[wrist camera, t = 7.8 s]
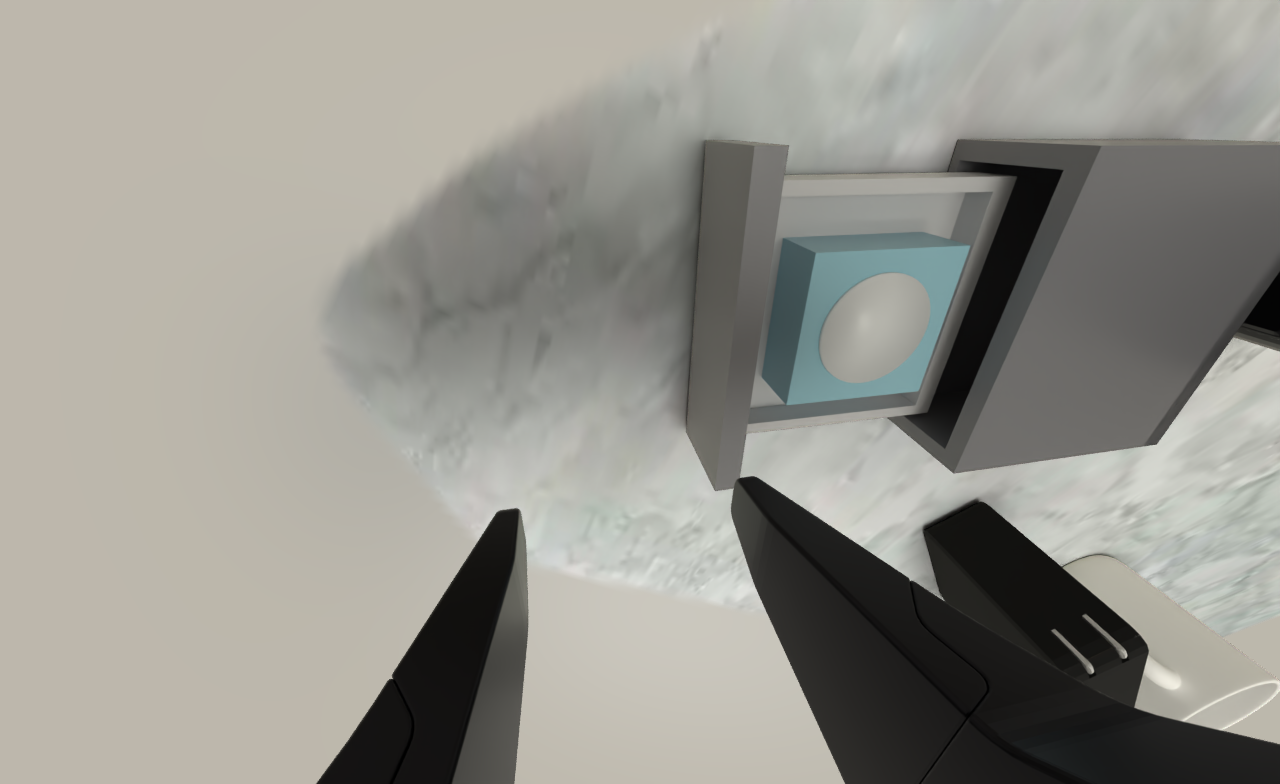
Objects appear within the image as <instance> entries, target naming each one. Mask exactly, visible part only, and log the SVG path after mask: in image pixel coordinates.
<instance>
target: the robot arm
mask: <svg viewBox="0 0 1280 784" xmlns="http://www.w3.org/2000/svg"><path fill="white" fill-rule="evenodd" d="M1233 337H1235V338H1238V339H1241V340H1244V341H1248V342H1251V343H1254V344H1257V345H1260V346H1264V347H1267V348H1270V349H1273V350H1277V351H1280V272H1279V273H1278V274H1277V276H1276V277H1275V279H1274V280H1273V282H1272V283H1271V284H1270V286H1269V287H1268V289H1267V290H1266V291H1265V293H1264V294H1263V296H1262V297H1261V298H1260V300H1259V301H1258V303H1257V304H1256V305H1255V307H1254V308H1253V310H1252V311H1251V312H1250V314H1249V315H1248V317H1247V318H1246V320H1245V321H1244V322H1243V324H1242V325H1241V327H1240V328H1239V329H1238V331H1237V332H1236V334H1235V335H1234V336H1233ZM731 514H732V519H733V522H734V525H735V528H736V531H737V534H738V537H739V540H740V543H741V546H742V549H743V552H744V555H745V558H746V561H747V564H748V567H749V570H750V573H751V576H752V579H753V582H754V585H755V587H756V589H757V592H758V594H759V596H760V599H761V601H762V603H763V605H764V607H765V610H766V612H767V614H768V616H769V618H770V620H771V623H772V625H773V627H774V629H775V631H776V634H777V636H778V638H779V640H780V642H781V644H782V646H783V649H784V651H785V653H786V655H787V658H788V660H789V662H790V664H791V666H792V669H793V671H794V673H795V675H796V677H797V679H798V682H799V684H800V686H801V688H802V690H803V693H804V695H805V697H806V699H807V701H808V704H809V706H810V708H811V710H812V712H813V714H814V717H815V719H816V721H817V723H818V725H819V728H820V730H821V732H822V734H823V736H824V739H825V741H826V743H827V745H828V747H829V749H830V751H831V754H832V756H833V758H834V760H835V763H836V765H837V767H838V769H839V771H840V773H841V776H842V778H843V780H844V782H845V784H1280V744H1277V743H1273V742H1268V741H1264V740H1260V739H1255V738H1251V737H1247V736H1243V735H1238V734H1234V733H1230V732H1226V731H1222V730H1217V729H1213V728H1209V727H1205V726H1201V725H1196V724H1192V723H1188V722H1184V721H1179V720H1175V719H1171V718H1167V717H1163V716H1159V715H1155V714H1152V713H1149V712H1146V711H1143V710H1140V709H1137V708H1134V707H1132V706H1129V705H1127V704H1124V703H1122V702H1119V701H1117V700H1115V699H1113V698H1111V697H1109V696H1107V695H1104V694H1102V693H1101V692H1099V691H1097V690H1095V689H1093V688H1091V687H1089V686H1088V685H1086V684H1084V683H1082V682H1081V681H1079V680H1077V679H1075V678H1074V677H1072V676H1070V675H1068V674H1067V673H1065V672H1063V671H1061V670H1060V669H1058V668H1056V667H1054V666H1053V665H1051V664H1049V663H1047V662H1046V661H1044V660H1042V659H1040V658H1039V657H1037V656H1035V655H1034V654H1032V653H1030V652H1028V651H1027V650H1025V649H1023V648H1021V647H1020V646H1018V645H1016V644H1014V643H1013V642H1011V641H1009V640H1007V639H1006V638H1004V637H1002V636H1000V635H999V634H997V633H995V632H994V631H992V630H990V629H989V628H987V627H985V626H984V625H982V624H980V623H979V622H977V621H975V620H973V619H972V618H970V617H968V616H967V615H965V614H963V613H962V612H960V611H959V610H957V609H956V608H954V607H952V606H951V605H949V604H948V603H946V602H945V601H943V600H942V599H940V598H938V597H937V596H935V595H934V594H932V593H931V592H929V591H928V590H926V589H925V588H923V587H922V586H920V585H919V584H917V583H916V582H914V581H910V580H909V578H908V577H906V576H905V575H903V574H902V573H900V572H899V571H897V570H896V569H894V568H893V567H891V566H890V565H888V564H887V563H885V562H884V561H882V560H881V559H879V558H878V557H876V556H875V555H873V554H872V553H870V552H869V551H867V550H866V549H864V548H863V547H861V546H860V545H858V544H857V543H855V542H854V541H852V540H851V539H849V538H848V537H846V536H845V535H843V534H842V533H840V532H839V531H837V530H836V529H834V528H833V527H831V526H830V525H828V524H827V523H825V522H824V521H822V520H821V519H819V518H818V517H816V516H815V515H813V514H812V513H810V512H809V511H807V510H806V509H804V508H803V507H801V506H800V505H798V504H797V503H795V502H794V501H792V500H791V499H789V498H788V497H786V496H785V495H783V494H781V493H780V492H778V491H777V490H775V489H774V488H772V487H771V486H769V485H768V484H766V483H765V482H763V481H762V480H760V479H759V478H757V477H755V476H751V477H743V478H738V479H737V480H736V481H735V484H734V490H733V497H732V504H731ZM527 589H528V588H527V553H526V539H525V533H524V527H523V522H522V516H521V512H520V510H519V509H518V508H514V509H507V510H500V511H498V512H497V513H496V514H495V516H494V517H493V519H492V520H491V522H490V524H489V525H488V527H487V528H486V530H485V531H484V533H483V534H482V536H481V538H480V539H479V541H478V542H477V544H476V545H475V547H474V548H473V550H472V552H471V553H470V555H469V556H468V558H467V559H466V561H465V562H464V564H463V566H462V567H461V569H460V570H459V572H458V573H457V575H456V576H455V578H454V580H453V581H452V582H451V584H450V586H449V587H448V589H447V590H446V592H445V593H444V595H443V597H442V598H441V600H440V601H439V603H438V604H437V606H436V607H435V609H434V610H433V612H432V614H431V615H430V617H429V618H428V620H427V621H426V623H425V624H424V626H423V627H422V629H421V631H420V632H419V634H418V635H417V637H416V638H415V640H414V642H413V643H412V645H411V646H410V648H409V649H408V651H407V652H406V654H405V656H404V657H403V658H402V660H401V661H400V663H399V665H398V666H397V668H396V669H395V671H394V672H393V674H392V678H393V679H389V680H388V681H387V683H386V684H385V686H384V687H383V689H382V691H381V692H380V694H379V695H378V697H377V699H376V700H375V702H374V703H373V705H372V706H371V708H370V709H369V711H368V712H367V713H366V715H365V717H364V718H363V720H362V721H361V722H360V724H359V725H358V727H357V728H356V730H355V731H354V733H353V734H352V736H351V737H350V739H349V740H348V742H347V743H346V744H345V746H344V747H343V748H342V750H341V751H340V752H339V754H338V755H337V756H336V758H335V759H334V760H333V762H332V763H331V764H330V766H329V767H328V768H327V770H326V771H325V773H324V774H323V775H322V776H321V778H320V779H319V781H318V782H317V784H514V781H515V770H516V758H517V748H518V737H519V725H520V715H521V704H522V693H523V681H524V670H525V660H526V648H527V637H528V590H527Z"/></svg>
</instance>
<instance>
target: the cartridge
mask: <svg viewBox="0 0 1280 784" xmlns="http://www.w3.org/2000/svg"><path fill="white" fill-rule="evenodd" d="M970 246H971V245H967V244H964V243H960V242H957V241H953V240H950V239H946V238H943V237H939V236H936V235H932V234H929V233H925V232H905V233H882V234H858V235H834V236H810V237H786V238H783V242H782V248H781V255H780V261H779V267H778V274H777V280H776V287H775V293H774V300H773V306H772V313H771V319H770V325H769V332H768V338H767V345H766V351H765V358H764V364H763V370H762V378H763V380H764V381H765V382H766V383H767V384H768V385H769V386H770V387H771V389H772V390H773V391H774V392H775V393H776V394H777V395H778V396H779V398H780V399H781V400H782V401H783V402H784V403H785V404H786V405H796V404H805V403H814V402H823V401H833V400H842V399H851V398H860V397H870V396H879V395H888V394H897V393H906V392H916V391H919V389H920V386H921V383H922V380H923V377H924V375H925V372H926V369H927V366H928V363H929V361H930V358H931V355H932V352H933V349H934V347H935V344H936V341H937V338H938V335H939V333H940V330H941V327H942V324H943V321H944V319H945V316H946V313H947V310H948V308H949V305H950V302H951V299H952V296H953V294H954V291H955V288H956V285H957V282H958V280H959V277H960V274H961V271H962V268H963V266H964V263H965V260H966V257H967V254H968V252H969V249H970Z"/></svg>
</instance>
